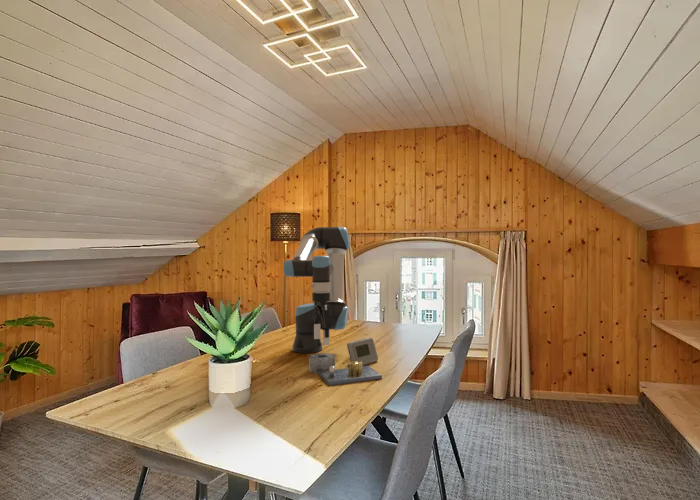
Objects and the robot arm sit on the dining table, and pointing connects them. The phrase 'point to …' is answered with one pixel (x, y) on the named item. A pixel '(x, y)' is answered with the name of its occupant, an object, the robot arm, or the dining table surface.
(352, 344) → the digital clock
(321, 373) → the carrier
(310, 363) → the planet gear
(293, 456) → the dining table surface
